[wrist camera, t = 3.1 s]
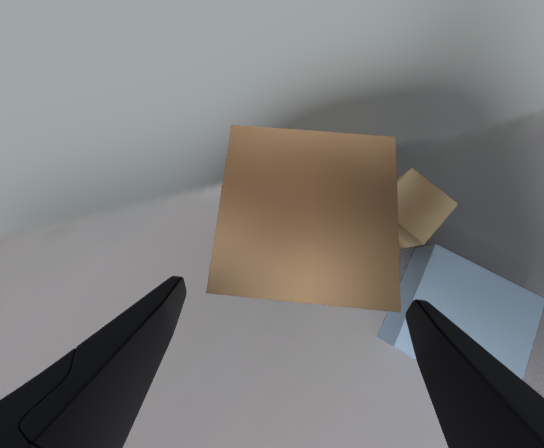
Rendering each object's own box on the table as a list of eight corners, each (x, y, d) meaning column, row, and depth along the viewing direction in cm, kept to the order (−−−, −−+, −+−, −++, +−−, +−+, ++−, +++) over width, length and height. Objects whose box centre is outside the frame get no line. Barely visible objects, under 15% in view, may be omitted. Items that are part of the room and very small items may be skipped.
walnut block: (318, 286, 18) (401, 312, 6) (252, 279, 19) (206, 292, 6) (321, 221, 20) (395, 136, 7) (258, 216, 20) (231, 125, 8)
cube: (422, 217, 20) (458, 204, 16) (393, 250, 19) (424, 244, 15) (385, 187, 20) (412, 167, 16) (357, 218, 20) (377, 205, 16)
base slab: (477, 394, 16) (512, 415, 14) (377, 336, 17) (393, 346, 15) (509, 295, 18) (545, 299, 16) (415, 247, 19) (436, 243, 16)
